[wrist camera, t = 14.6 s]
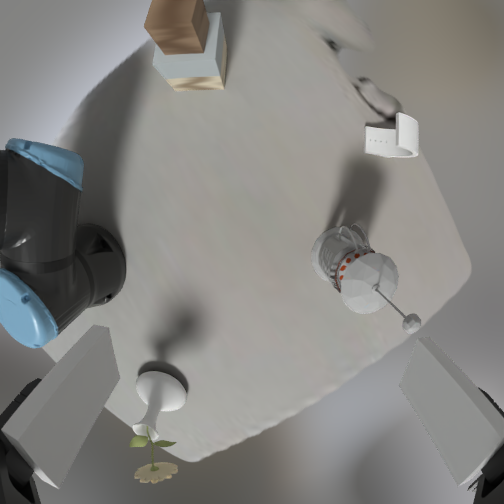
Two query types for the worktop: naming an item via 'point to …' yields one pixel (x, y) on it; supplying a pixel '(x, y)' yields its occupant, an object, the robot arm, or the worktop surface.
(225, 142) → the worktop surface
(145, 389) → the flower in vase
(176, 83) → the beech block
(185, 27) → the walnut block
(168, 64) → the grey block
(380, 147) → the white curved piece
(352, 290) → the french press
